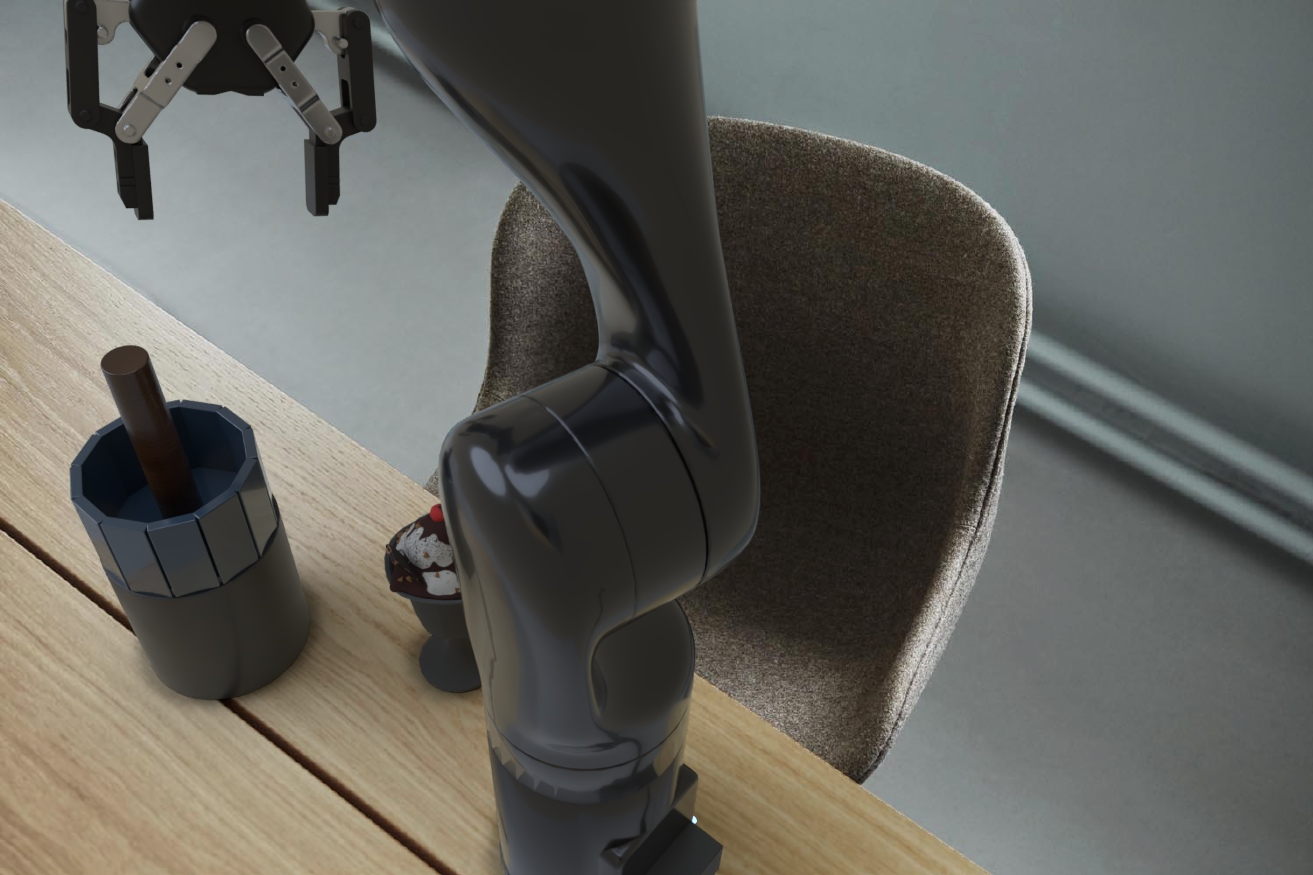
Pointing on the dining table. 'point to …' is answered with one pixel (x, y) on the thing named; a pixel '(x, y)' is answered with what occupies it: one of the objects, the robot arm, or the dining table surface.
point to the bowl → (190, 543)
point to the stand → (225, 627)
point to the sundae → (434, 600)
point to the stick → (151, 429)
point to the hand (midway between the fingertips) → (234, 215)
